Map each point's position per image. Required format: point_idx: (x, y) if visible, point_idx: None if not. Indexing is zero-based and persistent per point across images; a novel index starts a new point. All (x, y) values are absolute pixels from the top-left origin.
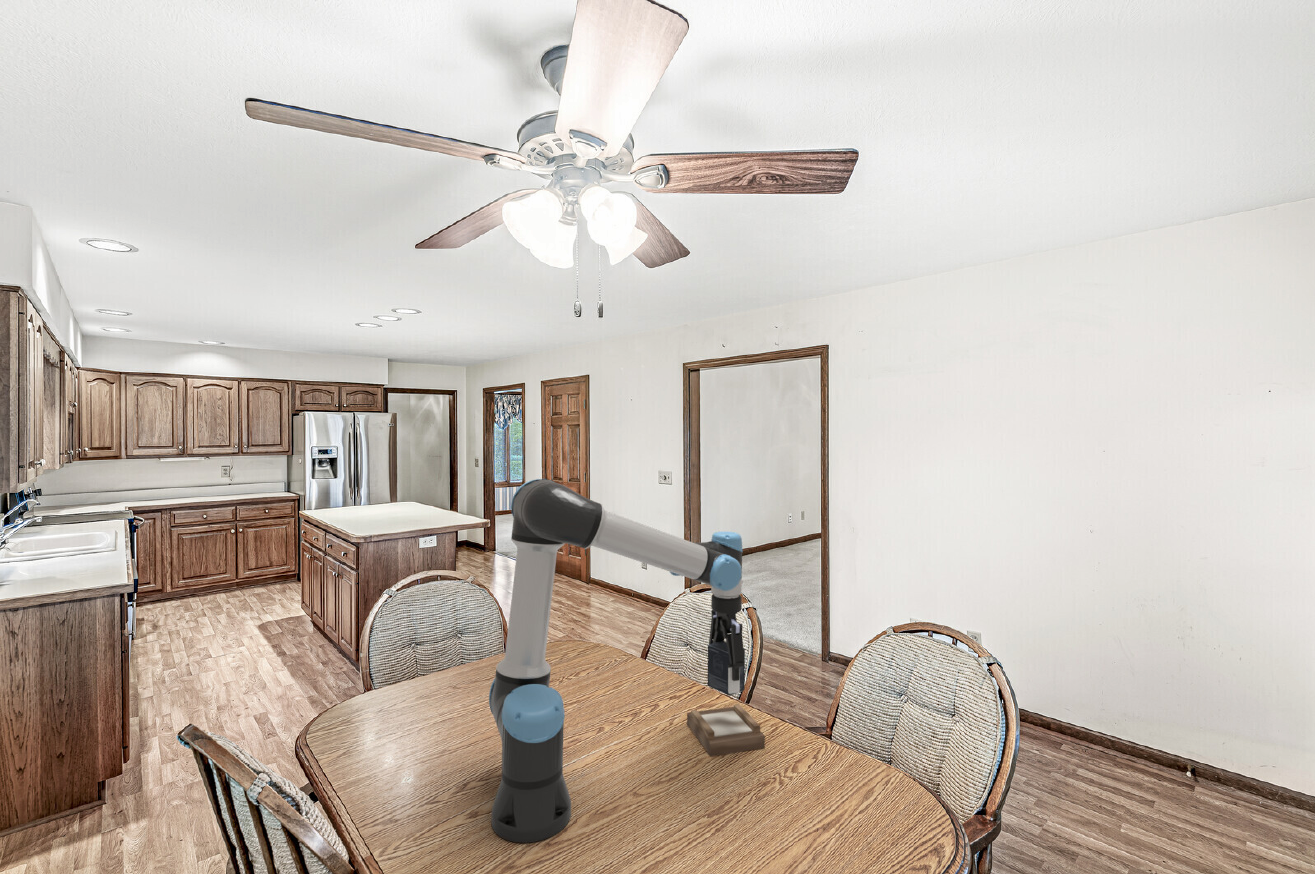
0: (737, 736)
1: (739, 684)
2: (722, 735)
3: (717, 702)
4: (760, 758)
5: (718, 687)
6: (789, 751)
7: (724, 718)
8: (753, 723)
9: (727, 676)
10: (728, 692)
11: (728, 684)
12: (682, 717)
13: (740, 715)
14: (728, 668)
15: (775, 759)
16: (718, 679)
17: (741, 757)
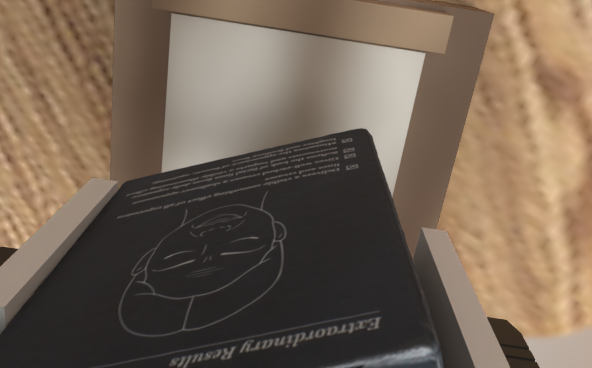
0: (139, 128)
1: None
2: (168, 60)
3: (585, 269)
4: (56, 159)
5: (231, 162)
6: None
7: None
8: None
9: (91, 243)
10: (108, 181)
11: (83, 207)
12: (554, 23)
13: None
14: (19, 287)
15: (33, 209)
16: (223, 188)
17: (86, 89)
